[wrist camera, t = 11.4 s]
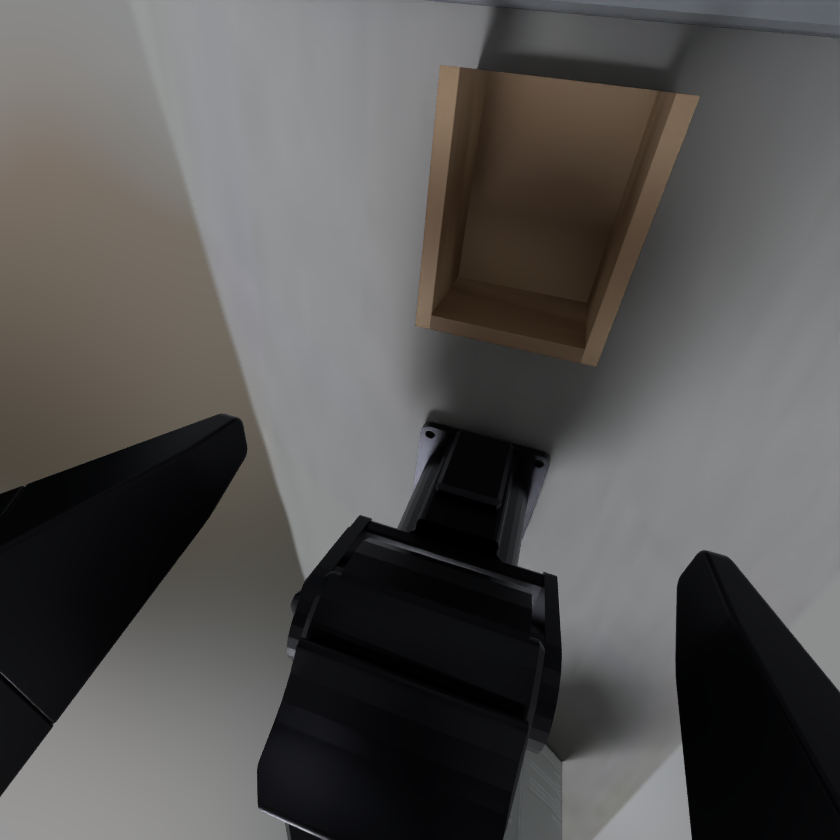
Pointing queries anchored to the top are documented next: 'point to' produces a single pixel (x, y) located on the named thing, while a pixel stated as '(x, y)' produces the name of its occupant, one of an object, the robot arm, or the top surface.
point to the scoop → (541, 206)
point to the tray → (701, 12)
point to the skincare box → (537, 799)
